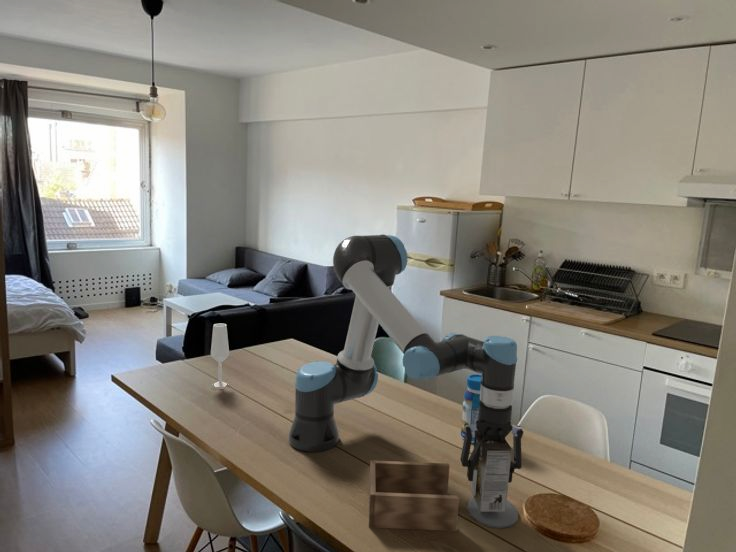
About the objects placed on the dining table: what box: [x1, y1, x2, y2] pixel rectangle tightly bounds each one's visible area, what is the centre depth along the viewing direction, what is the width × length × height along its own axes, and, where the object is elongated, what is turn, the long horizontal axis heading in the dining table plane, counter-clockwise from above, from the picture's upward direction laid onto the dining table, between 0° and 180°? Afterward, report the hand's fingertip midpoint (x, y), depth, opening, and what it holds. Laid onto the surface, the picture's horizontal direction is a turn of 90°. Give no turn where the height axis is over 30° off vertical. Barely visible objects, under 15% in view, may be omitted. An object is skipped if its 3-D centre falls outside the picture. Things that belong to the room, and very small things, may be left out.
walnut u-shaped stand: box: [368, 459, 460, 532], centre depth 126 cm, size 20×15×8 cm
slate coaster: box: [466, 497, 519, 529], centre depth 127 cm, size 12×12×1 cm
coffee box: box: [472, 430, 513, 512], centre depth 125 cm, size 9×6×16 cm
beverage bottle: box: [460, 373, 481, 444], centre depth 164 cm, size 8×8×20 cm
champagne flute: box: [210, 323, 230, 387], centre depth 197 cm, size 7×7×24 cm
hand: (488, 493), depth 126 cm, fingers closed on coffee box, 7 cm apart
